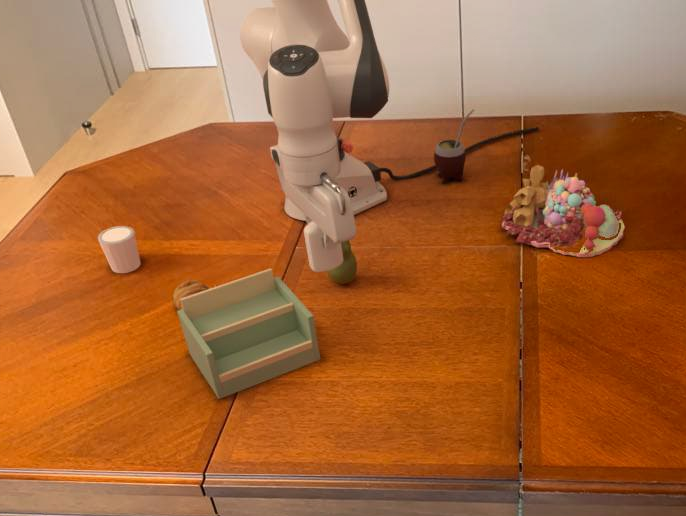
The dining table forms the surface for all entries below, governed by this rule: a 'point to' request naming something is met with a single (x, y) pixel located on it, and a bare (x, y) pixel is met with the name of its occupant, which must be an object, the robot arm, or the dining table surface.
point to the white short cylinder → (120, 248)
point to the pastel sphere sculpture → (560, 215)
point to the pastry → (187, 291)
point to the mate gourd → (451, 157)
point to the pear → (344, 266)
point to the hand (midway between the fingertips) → (323, 241)
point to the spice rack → (248, 332)
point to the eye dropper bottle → (320, 250)
